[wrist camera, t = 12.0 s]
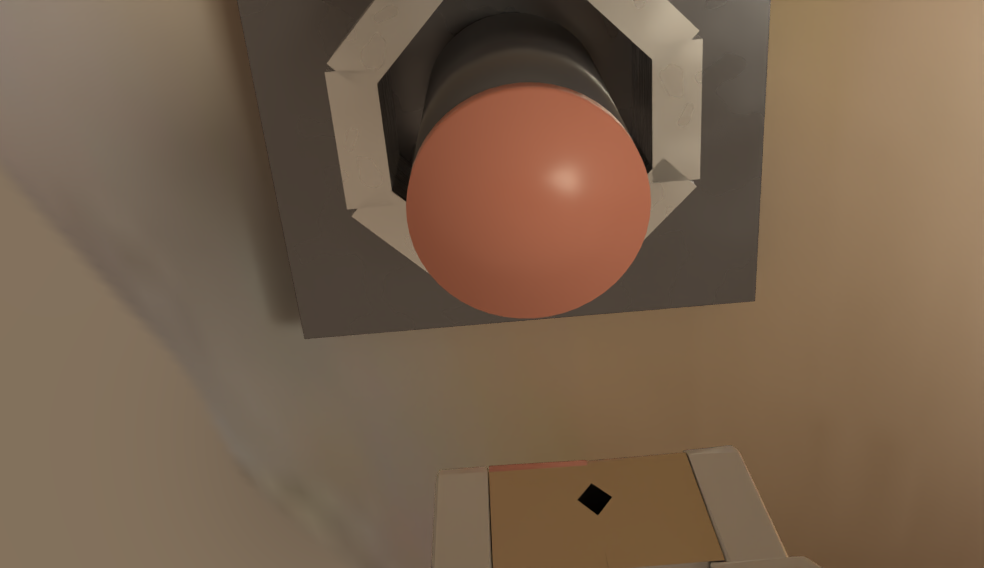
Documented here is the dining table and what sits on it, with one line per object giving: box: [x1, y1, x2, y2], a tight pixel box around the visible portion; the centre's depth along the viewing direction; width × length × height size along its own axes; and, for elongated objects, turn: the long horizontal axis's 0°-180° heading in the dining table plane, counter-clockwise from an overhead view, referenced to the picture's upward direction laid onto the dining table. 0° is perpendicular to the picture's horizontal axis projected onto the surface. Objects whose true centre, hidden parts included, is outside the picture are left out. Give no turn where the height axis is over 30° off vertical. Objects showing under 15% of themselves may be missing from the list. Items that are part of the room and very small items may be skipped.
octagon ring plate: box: [237, 0, 771, 339], centre depth 24 cm, size 14×14×4 cm
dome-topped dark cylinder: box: [406, 13, 651, 318], centre depth 21 cm, size 5×5×8 cm
